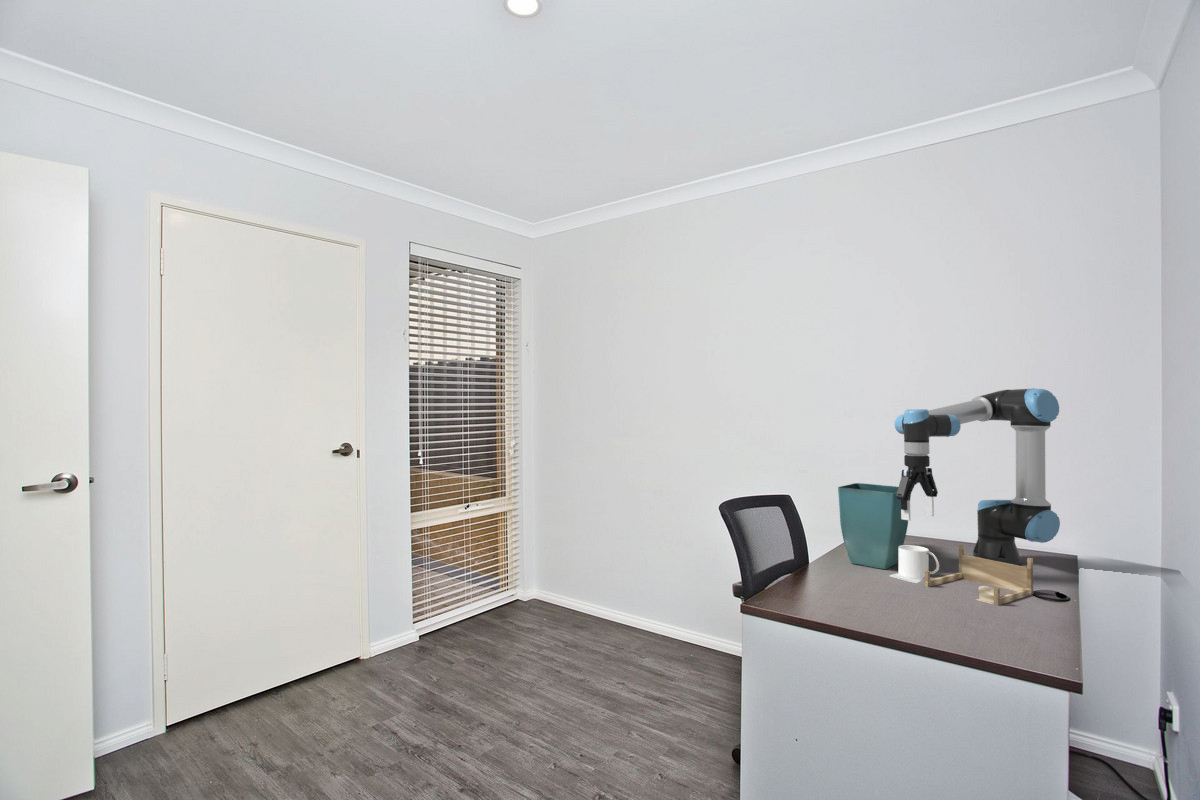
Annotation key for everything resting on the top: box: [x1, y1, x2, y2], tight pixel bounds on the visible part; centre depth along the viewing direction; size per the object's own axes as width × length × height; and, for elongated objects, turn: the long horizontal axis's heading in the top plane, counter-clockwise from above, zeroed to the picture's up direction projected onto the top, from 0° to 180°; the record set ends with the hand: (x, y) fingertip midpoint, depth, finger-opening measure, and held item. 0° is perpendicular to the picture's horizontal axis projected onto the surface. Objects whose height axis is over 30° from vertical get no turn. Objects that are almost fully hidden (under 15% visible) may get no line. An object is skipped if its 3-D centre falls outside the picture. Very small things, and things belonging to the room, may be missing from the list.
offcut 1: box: [978, 585, 995, 596], centre depth 172 cm, size 4×3×2 cm
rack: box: [924, 544, 1034, 606], centre depth 182 cm, size 21×21×12 cm
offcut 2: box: [978, 592, 994, 603], centre depth 172 cm, size 4×4×2 cm
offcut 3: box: [975, 598, 994, 605], centre depth 172 cm, size 5×4×2 cm
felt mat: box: [889, 572, 923, 584], centre depth 199 cm, size 12×12×1 cm
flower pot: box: [837, 482, 912, 570], centre depth 218 cm, size 20×20×28 cm
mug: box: [897, 544, 940, 580], centre depth 199 cm, size 12×9×9 cm
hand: (917, 517), depth 199 cm, fingers open, 13 cm apart
